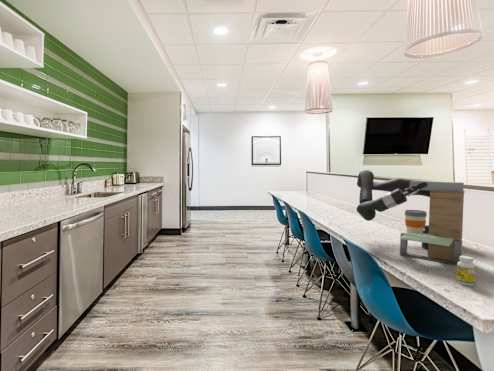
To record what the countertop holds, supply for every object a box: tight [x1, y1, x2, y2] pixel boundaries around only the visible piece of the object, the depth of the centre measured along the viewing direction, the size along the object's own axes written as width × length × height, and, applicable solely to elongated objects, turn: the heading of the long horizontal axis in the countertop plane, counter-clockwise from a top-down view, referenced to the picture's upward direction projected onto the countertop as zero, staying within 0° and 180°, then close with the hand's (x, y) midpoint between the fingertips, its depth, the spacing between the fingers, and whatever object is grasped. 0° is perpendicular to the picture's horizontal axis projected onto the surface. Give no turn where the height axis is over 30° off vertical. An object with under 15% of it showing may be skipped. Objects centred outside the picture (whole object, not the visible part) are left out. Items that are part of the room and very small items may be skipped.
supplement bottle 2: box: [456, 255, 476, 286], centre depth 104 cm, size 5×5×10 cm
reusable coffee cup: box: [404, 209, 428, 234], centre depth 186 cm, size 13×13×15 cm
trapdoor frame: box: [399, 232, 463, 266], centre depth 132 cm, size 3×24×10 cm, turn 47°
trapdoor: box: [400, 232, 453, 246], centre depth 127 cm, size 14×18×1 cm
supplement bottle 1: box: [421, 224, 429, 250], centre depth 151 cm, size 7×7×12 cm
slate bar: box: [410, 180, 465, 192], centre depth 135 cm, size 4×21×4 cm, turn 47°
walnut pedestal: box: [427, 190, 465, 261], centre depth 133 cm, size 8×12×32 cm
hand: (427, 183), depth 137 cm, fingers open, 5 cm apart
